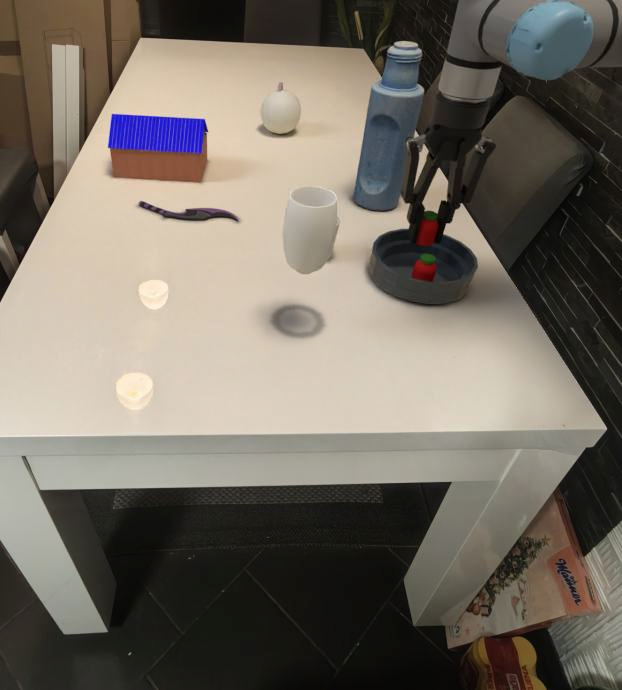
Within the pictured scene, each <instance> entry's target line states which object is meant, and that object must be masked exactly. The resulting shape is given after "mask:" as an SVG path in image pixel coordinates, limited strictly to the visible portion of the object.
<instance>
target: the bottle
mask: <svg viewBox="0 0 622 690" xmlns="http://www.w3.org/2000/svg"><path fill="white" fill-rule="evenodd" d="M422 57H423V51H422V49H421V48H419V44H418V43H417V42H414V41H407V40H401V41H400V40H399V41H395V42H394V43H393V45H392V46H389V48H388V49H387V51H386V62H385V66H384V69H383V73H382V77H381V79H380V80H376V81H374V82H373V83H372V84H371V88H370V94H369V98H368V106H367V108H366V109H367V111H366V117H365V122H364V130H363V135H362V142H361V148H360V154H359V159H358V165H357V173H356V178H355V183H354V184H355V185H354V189H353V195H352V199H353V202H354V203H356V204H357V205H358V206H359V207H362V208H364V209H366V210H369V211H377V212H384V211H390V210H393V209H395V208H396V207H397V206H398V205H399V202H400V197H401V195H400V192H401V186H402V180H403V174H404V169H405V163H406V157H407V148H406V143H405V140H406V138H407V137H409V136H411V137H413V138H415V133H416V130H417V126H418V123H419V122H418V121H419V117H420V112H421V107H422V104H423V99H424V96H425V88H424V87H423V86H422V85H421V84H419V83H418V81H419V72H420V71H419V67H420V64H421V60H422Z"/></svg>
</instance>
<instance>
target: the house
mask: <svg viewBox="0 0 622 690" xmlns="http://www.w3.org/2000/svg"><path fill="white" fill-rule="evenodd" d="M108 133H109V134H108V142H107V148H108V149H109V151H110V152H109V153H110V160H111V166H112V173H113V178H121V179H137V180H138V179H139V180H151V181H152V180H155V181H171V182H172V181H174V182H186V183H187V182H189V183H202V181H203V177H204V174H205V172H206V171H205V170H206V167H207V164H208V133H209V128H208V126H207V122H206V119H205V118H197V117H196V118H194V117H175V116H161V115H160V116H159V115H139V114H123V113H122V114H120V113H111V116H110V125H109V132H108Z"/></svg>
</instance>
